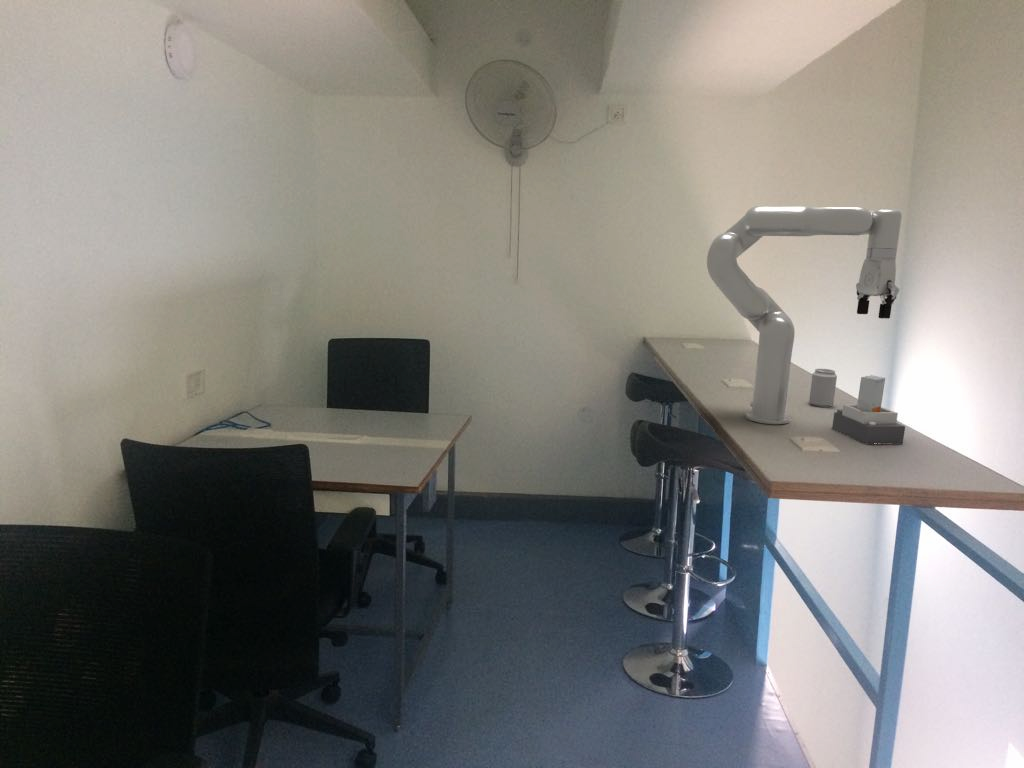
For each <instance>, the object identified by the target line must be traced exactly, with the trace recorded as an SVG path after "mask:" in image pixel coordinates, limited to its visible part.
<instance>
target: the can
mask: <svg viewBox="0 0 1024 768" xmlns="http://www.w3.org/2000/svg"><path fill="white" fill-rule="evenodd" d="M837 378H838V375H837V374H836V371H835V370H833V369H830V368H829V369H828V368H815V369H814V372H813V373H812V375H811V383H810V392H809V401H808V402H809V403H810V404H811V405H812V406H814V407H818V408H830V407H831V406H833V405H834V403H835V402H834V401H835V394H836V387H837Z"/></svg>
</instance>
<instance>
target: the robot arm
mask: <svg viewBox="0 0 1024 768" xmlns="http://www.w3.org/2000/svg"><path fill="white" fill-rule="evenodd" d="M902 215H903V214H902V212H901V211H900V210H899V209H885V208H884V209H875V210H869V209H866V208H865V207H861V206H860V207H859V206H858V207H857V206H855V207H853V206H852V207H849V206H848V207H847V206H845V207H844V206H843V207H839V206H838V207H837V206H835V207H834V206H831V207H830V206H825V207H823V206H813V205H812V206H810V205H756V206H753V207H751V208H750V209H748V210H747V211H746V213H744V216H742V217H741V218H740V219H739V220H738V221H737V222H736V223H735V224H733V225H732V226H731V227H730V228H728V229H727V230H726V231H725V232H723V233H721V234H719V235H717V236H716V237H715V238H714V239H713V240H712V242H711V244H710V246H709V249H708V251H707V256H706V268H707V271H708V275H709V277H710V278H711V280H712V282H713V283H714V284H715V286H716V287H717V288H718V290H719V291H721V293H722V294H723V295H724V296H725V298H727V300H728V301H729V302H730V303H731V304H732V306H733V307H734V308H735V309H736V310H737V312H738V314H739V315H740V316H741V317H742V318H745V319H747V321H749V323H751V325H752V326H753V327H754V328H755V329H756V330H757V332H759V334H758V335H759V338H758V347H757V356H756V366H755V367H756V369H755V377H754V388H753V398H752V401H751V402H750V403H749V406H750V407H751V411H747V412H746V414H745V418H746V419H748V420H749V421H752V422H756V423H761V424H765V425H786V424H789V423H790V422H791V417H790V416H789V415H786V408H787V398H788V389H789V381H790V372H791V370H790V369H791V363H792V357H793V356H792V354H793V347H794V343H795V325H794V323H793V321H792V319H791V318H790V316H789V315H788V314H787V313H786V312H785V311H784V310H783V309H782V308H781V307H780V306H779V304H778V303H777V301H775V300H774V299H773V298H772V297H771V296H770V295H769V293H768V292H767V291H765V289H764V288H763V287H762V288H761V287H759V286H757V285H756V284H755V283H754V282H753V281H752V279H750V278H749V276H748V275H747V273H745V272H744V271H743V269H742V268H741V267H740V266H739V263H738V262H737V259H738V258H739V257H740V256H741V255H742V254H743V253H745V252H746V251H747V250H748V249H750V248H751V247H752V246H753V245H754V244H756V243H757V242H758V241H759V240H760V239H761V238H763V237H812V236H864V235H868V240H867V249H866V253H865V254H866V255H865V259H864V260H863V263H862V266H861V269H860V274H859V280H858V282H857V283H855V288H856V295H857V297H856V299H857V309H856V314H857V315H868V314H869V307H870V300H869V299H870V298H871V297H872V296H873V297H879V298H880V301H881V303H880V304H879V309H878V318H879V319H891V311H892V308H893V307H892V305H894V302H895V300H896V299H897V296H898V294H899V292H900V289H899V287H897V286H896V271H897V268H896V267H897V266H896V264H897V263H896V258H897V253H898V244H899V238H900V237H899V236H900V231H901V224H902V217H903V216H902Z"/></svg>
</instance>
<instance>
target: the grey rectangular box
mask: <svg viewBox="0 0 1024 768" xmlns="http://www.w3.org/2000/svg"><path fill="white" fill-rule="evenodd" d="M831 426H832V427H831V428H832V430H833V431H836V432H838V433H840V432H841V433H840V434H842V433H843V434H842V435H844V436H847V435H848V436H847V437H849V436H850V438H851V437H852V438H851V439H853V438H855V439H856V441H858V440H859V441H858V442H860V441H861V442H860V443H862V442H864V443H867V444H869V445H875V444H874V443H877V444H876V445H879V444H878V443H881V444H880V445H883V444H882V443H904V438H905V437H904V436H905V430H906V426H905V425H903V424H900V423H898V412H896V411H893V410H891V409H888V408H886V407H883V406H881V410H880V412H864V411H863V410H859V409H857V404H843V405H842V408H838V409H837V410H836V412H835V411H834V412H833V418H832V425H831ZM855 439H854V440H855ZM864 443H863V444H864Z"/></svg>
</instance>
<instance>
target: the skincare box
mask: <svg viewBox="0 0 1024 768" xmlns="http://www.w3.org/2000/svg"><path fill="white" fill-rule="evenodd" d="M885 384H886V377H883V376H878V375H874V374H873V375H872V374H871V375H866V376H862V377H861V378H860V383H859V389H858V390H859V391H858V397H857V403H856V405H857V409H859V410H863V411H864V412H880V410H881V407H882V402H883V396H884V390H885Z"/></svg>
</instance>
